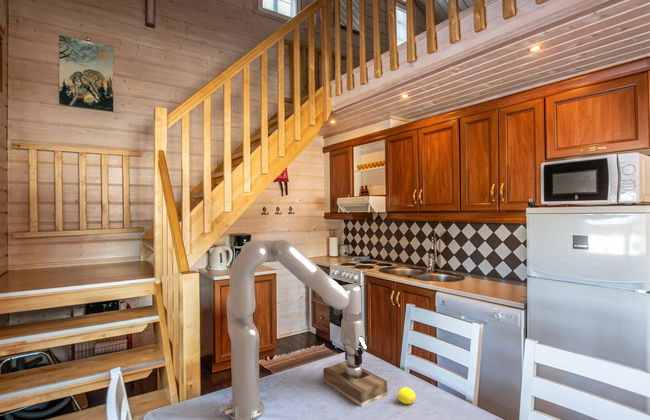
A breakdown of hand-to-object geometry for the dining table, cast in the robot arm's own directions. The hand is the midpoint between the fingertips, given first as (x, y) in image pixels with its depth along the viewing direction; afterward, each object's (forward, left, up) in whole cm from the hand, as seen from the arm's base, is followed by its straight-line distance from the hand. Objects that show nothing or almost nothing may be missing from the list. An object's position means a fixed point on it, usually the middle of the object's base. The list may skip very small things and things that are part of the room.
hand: (353, 361), depth 140 cm
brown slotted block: (0, 0, -10) cm, 10 cm away
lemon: (+8, -20, -11) cm, 24 cm away
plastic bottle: (0, 0, -7) cm, 7 cm away
